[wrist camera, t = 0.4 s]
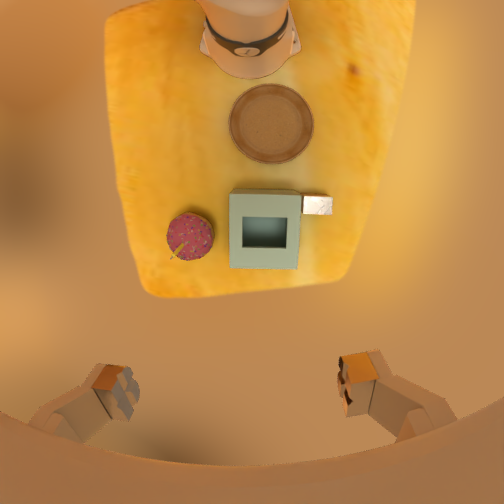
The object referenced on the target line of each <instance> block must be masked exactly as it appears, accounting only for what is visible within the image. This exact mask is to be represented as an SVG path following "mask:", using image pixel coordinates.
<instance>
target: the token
mask: <svg viewBox="0 0 504 504" xmlns="http://www.w3.org/2000/svg"><path fill="white" fill-rule="evenodd" d="M300 195H301V196H302V197H301V212H302V213H303V214H324V215H332V204H333V197H331V196H329V195H327V194H313V193H300Z"/></svg>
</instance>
